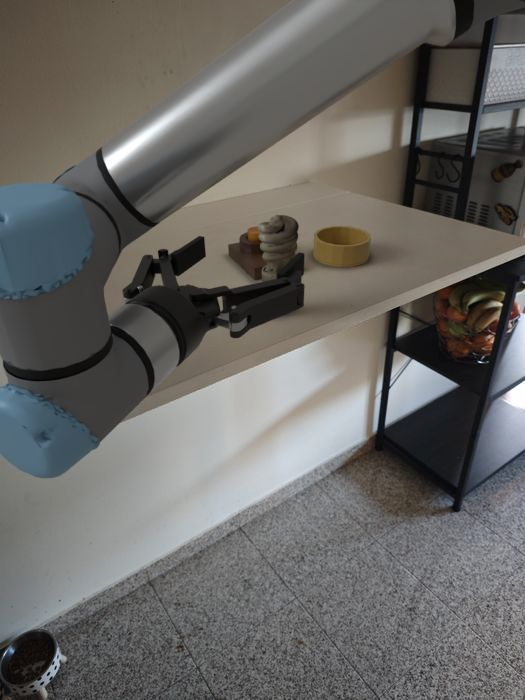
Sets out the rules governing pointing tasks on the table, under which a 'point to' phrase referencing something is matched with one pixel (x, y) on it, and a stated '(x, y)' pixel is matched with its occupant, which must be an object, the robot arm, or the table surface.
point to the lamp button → (253, 234)
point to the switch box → (248, 256)
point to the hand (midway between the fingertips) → (250, 254)
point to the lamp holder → (341, 246)
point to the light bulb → (277, 244)
